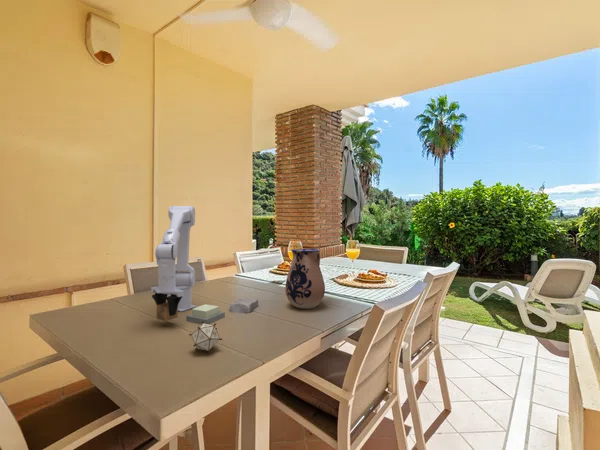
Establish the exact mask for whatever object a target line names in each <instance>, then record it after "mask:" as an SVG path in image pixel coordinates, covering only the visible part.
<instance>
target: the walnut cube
mask: <svg viewBox="0 0 600 450" xmlns="http://www.w3.org/2000/svg"><path fill="white" fill-rule="evenodd" d="M178 315H179V311H178V307H177V311H176V314H175V315H173V316H170V314H169V306H168V302H167V301H166V303H162V304H159V305H156V320H160V321H164V322H168V321H170V320H173V319H176V318H178V317H179V316H178Z"/></svg>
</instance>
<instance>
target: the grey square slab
mask: <svg viewBox="0 0 600 450" xmlns="http://www.w3.org/2000/svg"><path fill="white" fill-rule="evenodd" d="M225 315H226V312H224V311H220V310H219V313H218V314H215V315H213V316H210V317H208V318H202V317H197V316H192V313H190V314H188V315H186V317H185V318H186V319H185V321H186V322H189V323H194V324H199V325H201V324H202V321H204V323H205V324H210V325H211V323H216V321H219V320H221V319H224V318H225Z"/></svg>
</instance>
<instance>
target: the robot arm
mask: <svg viewBox="0 0 600 450" xmlns="http://www.w3.org/2000/svg"><path fill="white" fill-rule="evenodd" d="M167 213H168V219H169V220H170V222H169V223H170V224H169V226H168V227H169V228H168V229H166V230H165V231H164V234H163V236H162V239H161V242H160V243H159V244H158V245H156V247H155V251H154V253H155V254H154V255H155V259H156V265H157V271H158V272H157V274H158V275H157V278H158V279H157V280H158V286H153V287H150V289H151V290H150V293H151V294H152V295H151V297H152V299H153V300H154V302H155V304H156V306H157V305H159V304H162V303H166V302H168V306H169V314H170V316H173V315H175V314H176V311H177V307H178V312H184V311H187V310H191V309H194V308H196V307H197V305H194V304H192V288H193V287H194V285H195V284H196V271H195V268H194V267H193V266H191V265H190V264H189V260H190V259H189V258H190V256H189V255H190V233H191V228H192V227H193V226H195V223H196V208H195V207H194V206H193V205H170V206H169V208H168V212H167Z"/></svg>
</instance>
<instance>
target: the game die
mask: <svg viewBox="0 0 600 450" xmlns="http://www.w3.org/2000/svg"><path fill="white" fill-rule="evenodd" d="M216 325H217V323H216V322H214V324H211V323H210V324H205V323H204V321H202V324H199V326H197V328H196V329H195V330H194V331H193V332H192V333H188V335H189V336H191V339H192V340H193V342H194V344H193V346H192V347H194V351H197V350H201V351H207V354H208V355H209V354H210V351H211V349H212V348H213V347H214V346H215V345H216V344H217V343H218V342H219V341H222V340H223V338H221V337H220V336H219V335H220V334H219V332H218V331H217V329H218V328H217V327H216Z"/></svg>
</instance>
